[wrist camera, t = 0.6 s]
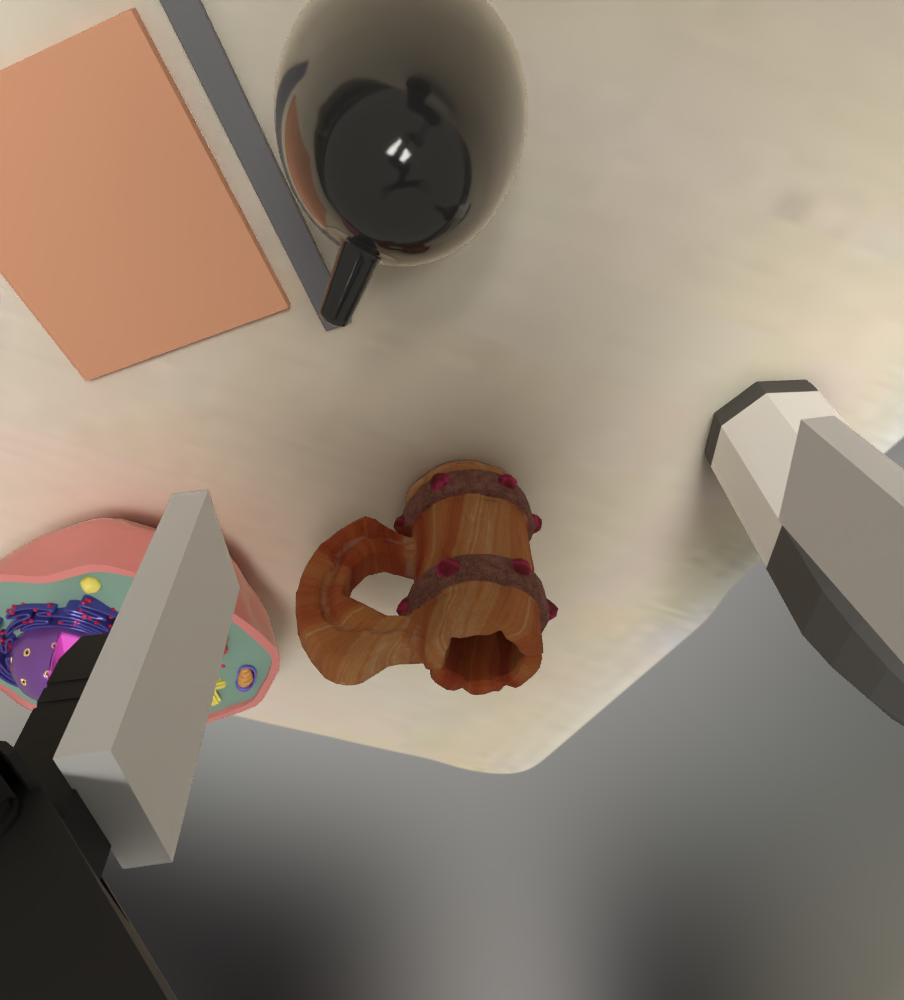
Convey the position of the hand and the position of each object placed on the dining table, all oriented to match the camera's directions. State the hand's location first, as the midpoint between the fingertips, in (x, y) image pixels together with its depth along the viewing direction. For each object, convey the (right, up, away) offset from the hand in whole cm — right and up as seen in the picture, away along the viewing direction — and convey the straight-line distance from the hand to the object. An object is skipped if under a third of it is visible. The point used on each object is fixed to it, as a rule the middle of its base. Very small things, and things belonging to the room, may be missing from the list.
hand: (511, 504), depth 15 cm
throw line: (-11, +17, +18) cm, 26 cm away
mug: (-3, +1, +31) cm, 31 cm away
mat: (-19, +14, +19) cm, 30 cm away
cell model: (-23, -5, +35) cm, 42 cm away
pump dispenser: (-4, +19, +16) cm, 25 cm away
